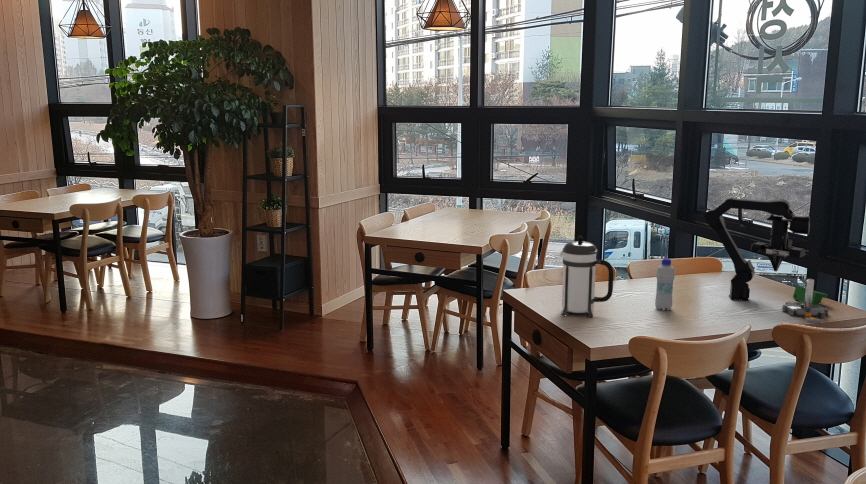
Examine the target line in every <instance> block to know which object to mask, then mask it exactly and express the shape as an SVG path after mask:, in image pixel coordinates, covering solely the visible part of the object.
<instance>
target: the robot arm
mask: <svg viewBox="0 0 866 484" xmlns="http://www.w3.org/2000/svg"><path fill="white" fill-rule="evenodd" d="M730 209H736V210H749V211H756V212H757V211H758V212H765V213H768V214H770V215H769V216H768V217H767V218H766V220H767V221H771V229H770V234H769V238H770V239H769V240H770V242H769V244H768V245H767V243H766V242H759V241H757V242H754V243H752V244H751V246H750V251H752V252H756V253H759V252H760V251H765V254H764V256H767V257H768V260H769V261H770V263H771V266H772V269H773V271H774V272H778V270H779V268H780V267H781V265H782V262H783V260H785V258H786V257H789V256H790V257H791V258H799V259H800V258H803V257H805V256H806V250H805V248H802V247H792V245H793V242H794V241H793V240H792V239H790V238H789V233H788V231H790V232H792V234H796V235H810V228H811V224H810V222H811V220H810V219H811V217H810V216H798V215H795V213H794V212H793V210H792V209H791V204H790V202H789V201H788V200H786V199H782V198H781V199H770V200H758V199H747V198H746V199H745V198H744V199H743V198H737V197H736V198H735V197H728V198H726V199H725V200H724V201H723V202H722V203H721V204H720V205H719V206H717V207H715V208H711V209H709V210H707V211H706V212H705V214H704V217H703V218H704V221H705V222H706V224H707V225H708V226H709V227H710V228H711V230H713V231H714V232H715V234H716V235H717V237H718V239H719V241H720V242H721V244H722V246H723V247H724V249H725V251H726V253H727V255H728V257H729V258H730V260H731V261H732V264H733V267H734V268H733V269H734V271H735V274H734V275H733V276H732V279H730V288H729V294H728V297H729V299H730V300H731V301H746V302H748V301H749V299H750V293H751V292H750V291H751V289H750V286H749V282H751V281H752V280H753V278H754V276H755V273H756V271H755V268H756V267H755V266H753V264H752V260H751V259H748V260H746V259H745V258H744V257H743V255H742V253H741V251H740V250H739V248H738V246H737V244H736V243H735V241H734V240H733V239H734V238H732V236H731V233H730V232H729V230H728V229H727V227H726V222H725V218H724V216H723V215H724V214H726V213H727V212H728V211H730ZM788 229H789V230H788Z"/></svg>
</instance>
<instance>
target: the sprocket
mask: <svg viewBox="0 0 866 484" xmlns="http://www.w3.org/2000/svg"><path fill="white" fill-rule="evenodd" d="M805 284H806V286H805V287H806V292H805V302H800V301H796V302H792V301H787V302H785V304H782V306H781V310H782V312H786V313H787V314H788V315H789V316H791V317H792V316H793V317H794V316H796V317H802V318H804V319H805V318H810V317H813V318H818V319H824V318H826V316H827V315H828V314H829V309H828V308H827V307H823V306H822V305H821V304H812V296H813V290H814V287H815V286H814V285H815V279H813V278H806V283H805ZM825 314H827V315H825Z"/></svg>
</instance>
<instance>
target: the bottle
mask: <svg viewBox="0 0 866 484" xmlns="http://www.w3.org/2000/svg"><path fill="white" fill-rule="evenodd" d="M655 275H656V278H655V279H656V291H655V292H656V293H655V303H654V306H655V308H656V309H657V310H658V311H661V310H662V311H663V312H664V311H665V310H666V311H669V310H672V307H673V291H674V290H673V289H674V280H675V277H676V274H675V268H674V266H673V265H672V260H671V259H669V258H663V259H662V260H661V265H658V266H657V270H656V274H655Z"/></svg>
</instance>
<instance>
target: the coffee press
mask: <svg viewBox="0 0 866 484" xmlns="http://www.w3.org/2000/svg"><path fill="white" fill-rule="evenodd" d="M576 239H577V240H574V241H569V242H567V243H565V244H564V247H563V248H562V250H561V252H560V253H559V254H558V257H562V287H561V289H562V291H561V293H562V294H561V307H562V308H563V310H562V312H561V315H562V316H563V315H567V316H568V315H569V314H570V313H572V314H585V315H586V316H587V317H588V316H590V318H593V317H594V314H593V312H592V311H593V310H594V308H595V303H603V302H607V301H609V300H610V299H611V297H612V296H613V290H614V269H613V266H612V264H611V263H610V262H609V261H608V260H604V259H597V254H598V248H597V246H596V245H595V244H594V243H592V242H589V241H585V240H584V239H585V238H584V237H583V235H578V236H577V237H576ZM597 265H601V266H605V267H606V268H607V271H608V282H607V283H608V285H607V293H606V295H605V296H602V297H601V296H595V294H596V293H595V292H596V290H595V289H596V271H597V270H596V266H597Z"/></svg>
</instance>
